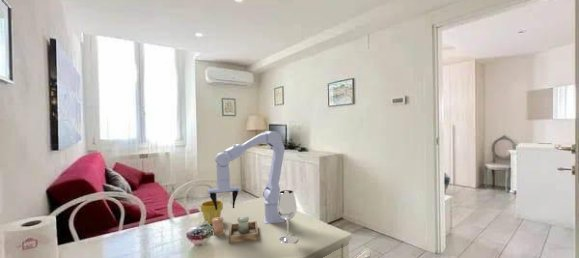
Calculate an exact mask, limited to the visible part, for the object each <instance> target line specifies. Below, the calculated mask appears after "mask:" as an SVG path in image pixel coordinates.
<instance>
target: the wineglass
mask: <svg viewBox="0 0 579 258" xmlns="http://www.w3.org/2000/svg"><path fill="white" fill-rule="evenodd" d="M295 197H296V196H295V193H294V191H293V190H290V189H285V190H280V194H279V199H278V214H279V215H280V217H281V218H283V219H284V221H286V222H285V223H286V235H285V236H283V235H282V236H281V237H280V238H279V242H280V243H283V244H293V243H297V241H298V238H297V236H295V235H290V233H289V232H290V230H289V228H290V227H289V222H290V220H292V219H293V218H294V217H295V216H296V214H297V209H298V208H297V207H298V206H297V201H296V198H295Z"/></svg>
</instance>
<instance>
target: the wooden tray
mask: <svg viewBox="0 0 579 258" xmlns="http://www.w3.org/2000/svg"><path fill="white" fill-rule="evenodd" d="M257 223H258V221H257V220H255V221H248V227H249V231H248V232H247V233H239V228H238V222H234V223H229V229H228V235H227V236H228V244H233V243H242V242H244V243H245V242H251V241H253V242H254V241H259V230H258V229H259V228H258V224H257Z"/></svg>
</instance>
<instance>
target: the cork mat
mask: <svg viewBox="0 0 579 258" xmlns="http://www.w3.org/2000/svg"><path fill="white" fill-rule="evenodd" d="M225 233H226V229H225V228H223V233H221V234H214V235H213V236H221V235H223V234H225Z"/></svg>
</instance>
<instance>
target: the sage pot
mask: <svg viewBox="0 0 579 258" xmlns="http://www.w3.org/2000/svg"><path fill="white" fill-rule="evenodd" d="M249 220H250V217H249V216H247V215H241V216H238V217H237V220H236V221H237V223H238V228H239V233H247V232H248V231H249V227H248V222H249Z"/></svg>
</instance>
